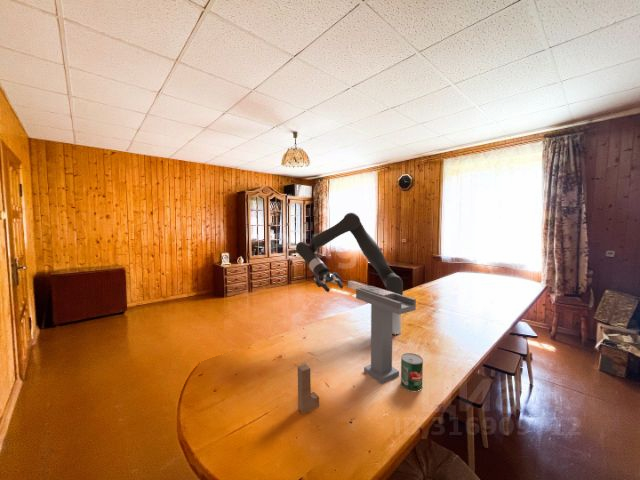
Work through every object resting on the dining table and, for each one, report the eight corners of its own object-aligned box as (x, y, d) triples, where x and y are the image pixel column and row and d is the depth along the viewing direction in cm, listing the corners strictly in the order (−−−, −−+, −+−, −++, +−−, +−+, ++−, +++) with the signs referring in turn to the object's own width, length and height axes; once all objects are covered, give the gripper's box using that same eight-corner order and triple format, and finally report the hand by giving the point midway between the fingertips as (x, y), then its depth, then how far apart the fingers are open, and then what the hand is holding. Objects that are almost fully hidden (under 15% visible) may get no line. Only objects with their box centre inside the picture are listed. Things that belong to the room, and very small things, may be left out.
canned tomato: (405, 376, 107) (405, 350, 106) (425, 384, 102) (425, 357, 101) (397, 386, 100) (397, 358, 100) (418, 395, 95) (418, 365, 95)
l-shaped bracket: (302, 414, 86) (302, 370, 85) (297, 408, 89) (297, 366, 88) (319, 406, 90) (318, 364, 89) (314, 401, 93) (313, 360, 91)
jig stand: (355, 365, 116) (355, 288, 113) (372, 358, 121) (372, 285, 119) (396, 395, 95) (398, 303, 93) (415, 386, 100) (416, 298, 98)
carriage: (344, 287, 123) (344, 281, 123) (354, 286, 126) (354, 280, 126) (383, 301, 102) (383, 293, 102) (394, 299, 105) (394, 291, 105)
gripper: (309, 264, 133) (326, 286, 123) (331, 260, 141) (349, 280, 131) (305, 275, 137) (322, 297, 127) (327, 271, 145) (344, 291, 135)
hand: (335, 289), depth 129 cm, fingers open, 8 cm apart
